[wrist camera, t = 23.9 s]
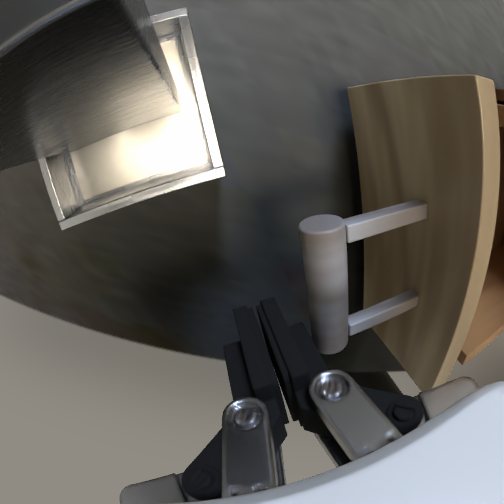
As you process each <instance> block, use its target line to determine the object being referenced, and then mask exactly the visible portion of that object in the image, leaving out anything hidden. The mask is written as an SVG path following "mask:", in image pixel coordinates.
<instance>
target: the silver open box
mask: <svg viewBox="0 0 504 504" xmlns="http://www.w3.org/2000/svg"><path fill="white" fill-rule="evenodd" d="M35 160H38V161H39V165H40V168H41V172H42V175H43V179H44V182H45V185H46V188H47V192H48V195H49V198H50V201H51V203H52V206H53V209H54V212H55V215H56V217H57V220H58V222H59V225H60V228H61V230H62V231H63V230H66V229H68V228H71V227H73V226H76V225H78V224H81V223H83V222H86V221H88V220H91V219H94V218H96V217H99V216H102V215H104V214H107V213H110V212H113V211H115V210H118V209H121V208H124V207H127V206H130V205H133V204H136V203H138V202H142V201H145V200H148V199H151V198H154V197H157V196H160V195H163V194H166V193H170V192H173V191H176V190H180V189H183V188H186V187H190V186H193V185H197V184H200V183H204V182H208V181H211V180H215V179H219V178H223V177H226V173H225V168H224V166H223V165H224V164H223V160H222V156H221V152H220V148H219V143H218V139H217V135H216V131H215V127H214V122H213V118H212V114H211V110H210V106H209V101H208V97H207V93H206V89H205V84H204V80H203V76H202V71H201V67H200V63H199V58H198V54H197V50H196V45H195V41H194V37H193V32H192V28H191V24H190V19H189V16H188V10H187V8H181V9H177V10H173V11H169V12H165V13H161V14H157V15H154V16H151V17H150V15H149V13H148V10H147V7H146V5H145V2H144V0H0V171H1V170H4V169H8V168H11V167H14V166H17V165H21V164H24V163H27V162H31V161H35Z"/></svg>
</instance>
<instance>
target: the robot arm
mask: <svg viewBox="0 0 504 504" xmlns="http://www.w3.org/2000/svg"><path fill="white" fill-rule="evenodd" d="M260 303H261V305H258V306H256V308H257V312H258V316H259V319H260V323H261V327H262V331H263V334H264V338H265V342H266V346H267V349H268V351H267V349H266V346H265V343H264V340H263V337H262V334H261V332H260V329H259V326H258V323H257V320H256V317H255V314H254V312H253V309H252V308H248V309H247V308H246V305H245V306H242V307H239V308H235V309H233V313H234V317H235V321H236V325H237V329H238V333H239V337H240V341H239V342H235V343H232V344H228V345H224V346H223V348H224V354H225V360H226V365H227V370H228V376H229V381H230V386H231V391H232V396H233V401H232V402H231V403H230V404H229V405H227V407H226V408H225V410H224V411H223V416H222V428H221V430H220V431H219V432H218V433H217V435H216V436H215V437H214V438H213V439H212V440H211V441H210V443H209V444H208V445H207V446H206V448H204V450H203V451H202V452H201V453H200V454H199V455H198V456H197V458H196V459H195V460H194V461H193V462H192V463H191V464H190V465H189V466H188V467H187V468H186V470H185V471H184V472H183V473H180V474H177V475H176V474H174V473H173V474H170V475H167V476H163V477H160V478H156V479H152V480H149V481H145V482H141V483H136V484H132V485H129V486H127V487H125V488H124V489H123V490H122V492H121V494H120V503H121V504H504V381H501V382H496V383H492V384H489V385H486V386H484V387H481V388H479V387H478V385H477V383H476V382H475V381H474V380H473V379H472V378H470V377H459V378H457V379H455V380H452V381H450V382H447V383H445V384H442V385H439V386H437V387H434V388H431V389H429V390H426V391H423V392H420V393H419V395H417V396H415V397H411V396H407V395H402V394H396V393H391V392H386V391H381V390H376V389H371V388H367V387H362V386H359V385H358V384H357V383H356V382H355V381H354V380H353V379H352V377H351V376H350V375H348V374H347V373H346V372H343V371H341V370H334V369H333V370H328V368H327V366H326V364H325V362H324V361H323V359H322V357H321V355H320V353H319V351H318V350H317V348H316V346H315V344H314V342H313V341H312V339H311V337H310V335H309V333H308V332H307V330H306V328H305V326H304V325H303V323H302V322H300V323H297V324H294V325H291V326H287V324H286V322H285V320H284V318H283V316H282V313H281V311H280V309H279V307H278V305H277V303H276V301H275V299H274V297H272V298H269V299H266V300H262V301H260ZM268 353H269V354H268ZM269 356H270V357H269ZM270 359H271V360H270ZM271 362H272V363H271ZM273 367H274V368H273ZM274 370H275V371H274ZM275 373H276V374H275ZM276 376H277V377H276ZM277 378H278V380H277ZM278 381H279V383H278ZM279 384H280V386H279ZM280 387H281V389H282V392H283V395H284V397H285V400H286V403H287V405H288V408H289V411H290V414H291V416H292V419H293V421H297V420H299V422H300V425H301V426H303V427H304V430H307V431H310V432H313V433H315V436H316V437H317V439H318V441H319V442H320V444H321V445H322V447H323V448H324V450H325V451H326V453H327V454H328V456H329V457H330V459H331V460H332V461H333V463H334V464H335V466H336V468H335V469H332V470H330V471H327V472H324V473H321V474H319V475H316V476H313V477H310V478H307V479H304V480H301V481H297V482H294V483H290V484H287V485H286V478H285V470H284V462H283V455H282V448H281V444H282V443H283V441H284V440H285V438H286V436H287V432H286V429H285V426H284V424H287V423H289V421H288V417H287V413H286V409H285V405H284V402H283V398H282V394H281V390H280Z"/></svg>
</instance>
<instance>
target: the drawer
mask: <svg viewBox="0 0 504 504" xmlns="http://www.w3.org/2000/svg"><path fill="white" fill-rule="evenodd" d="M347 93H348V98H349V103H350V109H351V115H352V121H353V127H354V134H355V141H356V149H357V157H358V166H359V175H360V186H361V198H362V214H360V215H357V216H353V217H349V218H346V219H342V218H341V217H339V216H336V215H329V214H323V215H316V216H312V217H308V218H306V219H304V220H303V221H301V222H300V224H299V227H298V229H299V236H300V243H301V250H302V257H303V264H304V272H305V280H306V288H307V296H308V305H309V313H310V323H311V332H312V341H313V342H314V344H315V346H316V348H317V350H318V351H319V352H320V353H323V354H335V353H338V352H340V351H342V350H343V349H344V348H345V347H346V345H347V343H348V334H349V335H350V336H351V335H354V334H356V333H359V332H361V331H363V330H366V329H368V328H370V327H371V328H372V329H373V330H374V332H375V333H376V334H377V335H378V337H379V338H380V339H381V340H382V342H383V343H384V344H385V345H386V347H387V348H388V349H389V350H390V352H391V353H392V354H393V355H394V357H395V358H396V359H397V360H398V362H399V363H400V364H401V365H402V367H403V368H404V369H405V371H406V372H407V373H408V374H409V376H410V377H411V378H412V380H413V381H414V382H415V384H416V385H417V386H418V387H419V389H420V390H421V391H422V392H423V391H426V390H429V389H431V388H434V387H437V386H439V385H442V384H445V383H446V382H447V380H448V378H449V376H450V374H451V372H452V370H453V367H454V365H455V363H456V361H457V360H458V361H459V362H460V363H461V364H462V365H463V364H465V363H466V362H467V361H469V360H470V359H471V358H473V357H474V356H475V355H476V354H478V353H479V352H480V351H481V350H483V349H484V348H485V347H486V346H487V345H488V344H490V343H491V342H492V341H493V340H494V339H495V338H496V337H497V336H498V335H500V334H501V333H502V332H503V331H504V105H500V104H497V100H496V93H495V86H494V82H493V80H491V79H488V78H485V77H481V76H478V75H439V76H425V77H414V78H405V79H396V80H389V81H382V82H376V83H370V84H364V85H358V86H353V87H348V88H347ZM361 239H364V302H363V310H361V311H359V312H356V313H353V314H351V315H348V265H347V245H346V242H348V243H351V242H354V241H357V240H361Z"/></svg>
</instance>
